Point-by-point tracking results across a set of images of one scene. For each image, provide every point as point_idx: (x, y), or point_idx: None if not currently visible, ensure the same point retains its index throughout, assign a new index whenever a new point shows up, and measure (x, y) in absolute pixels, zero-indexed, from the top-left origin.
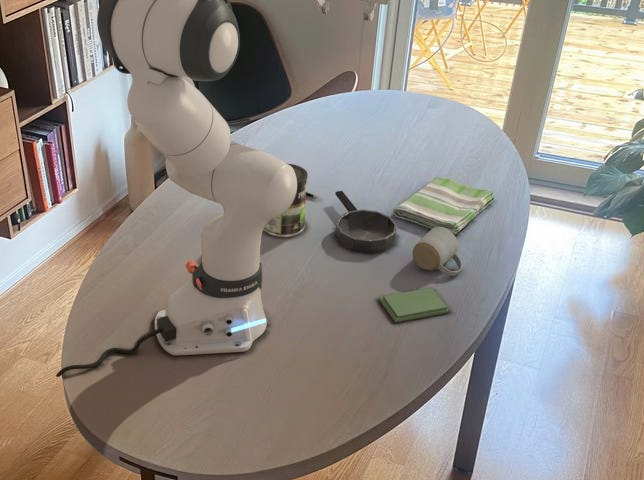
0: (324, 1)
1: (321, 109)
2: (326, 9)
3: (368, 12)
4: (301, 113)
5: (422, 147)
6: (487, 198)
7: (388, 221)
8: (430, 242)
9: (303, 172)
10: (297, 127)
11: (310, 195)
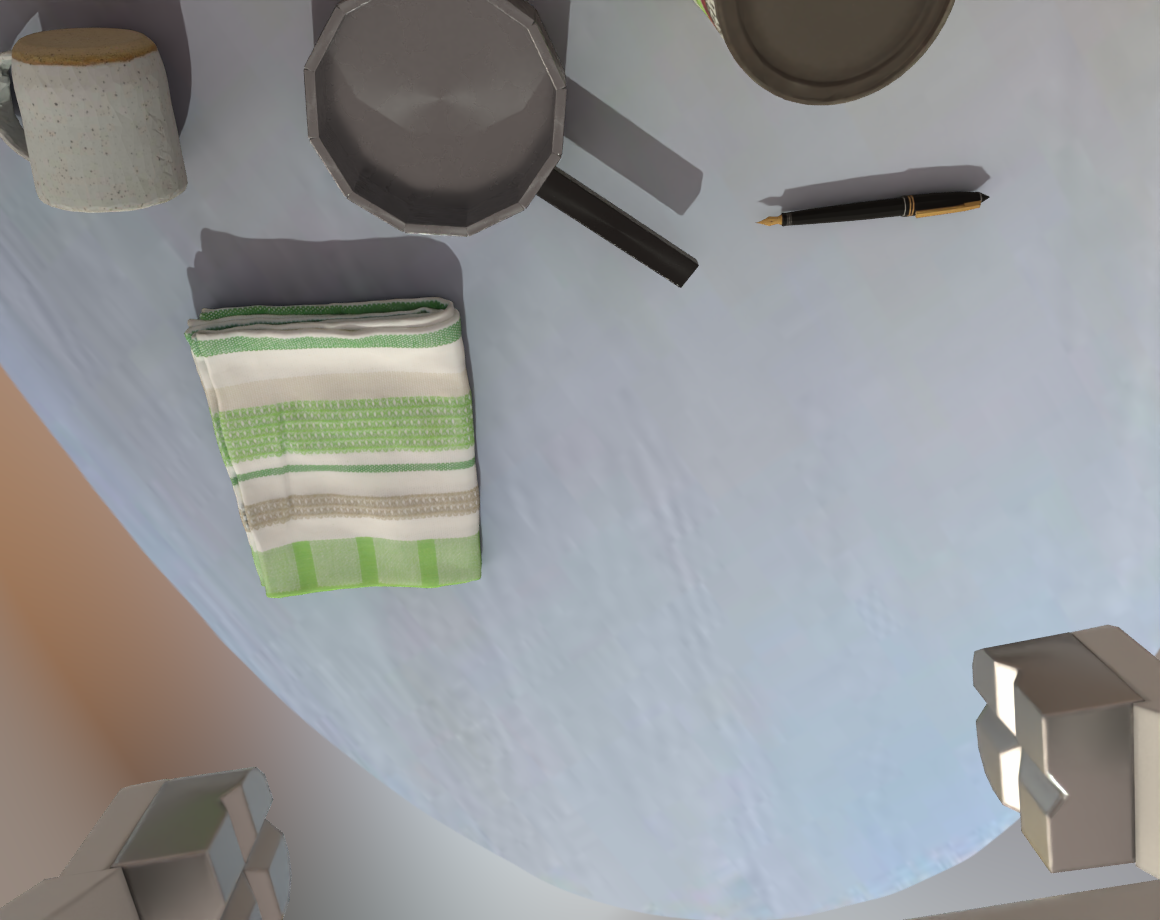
0: (1150, 850)
1: None
2: (1019, 720)
3: (77, 890)
4: None
5: (641, 704)
6: (257, 559)
7: (404, 215)
8: (57, 77)
9: (762, 60)
10: (1079, 588)
11: (792, 214)
